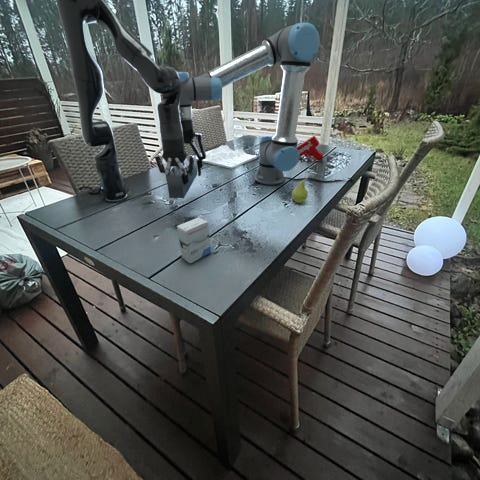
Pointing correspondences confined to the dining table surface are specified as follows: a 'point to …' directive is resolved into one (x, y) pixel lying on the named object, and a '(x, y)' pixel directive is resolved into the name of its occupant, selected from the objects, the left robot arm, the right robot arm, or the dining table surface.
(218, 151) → the relief map
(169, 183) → the bar
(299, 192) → the fruit
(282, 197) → the dining table surface
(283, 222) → the dining table surface
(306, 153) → the toy gun
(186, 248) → the ink box
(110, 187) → the left robot arm
